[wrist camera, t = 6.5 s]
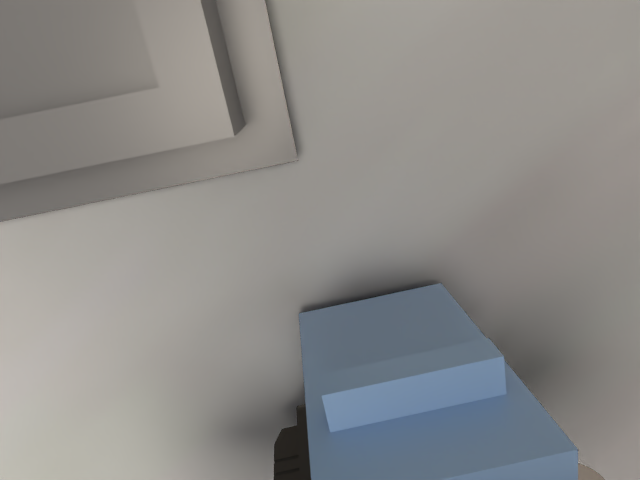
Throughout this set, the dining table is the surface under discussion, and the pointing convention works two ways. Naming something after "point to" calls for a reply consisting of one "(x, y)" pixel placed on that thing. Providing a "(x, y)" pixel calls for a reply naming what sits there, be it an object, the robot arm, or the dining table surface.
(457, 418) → the block
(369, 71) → the dining table surface
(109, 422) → the dining table surface
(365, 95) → the dining table surface
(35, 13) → the grey shallow square tray
